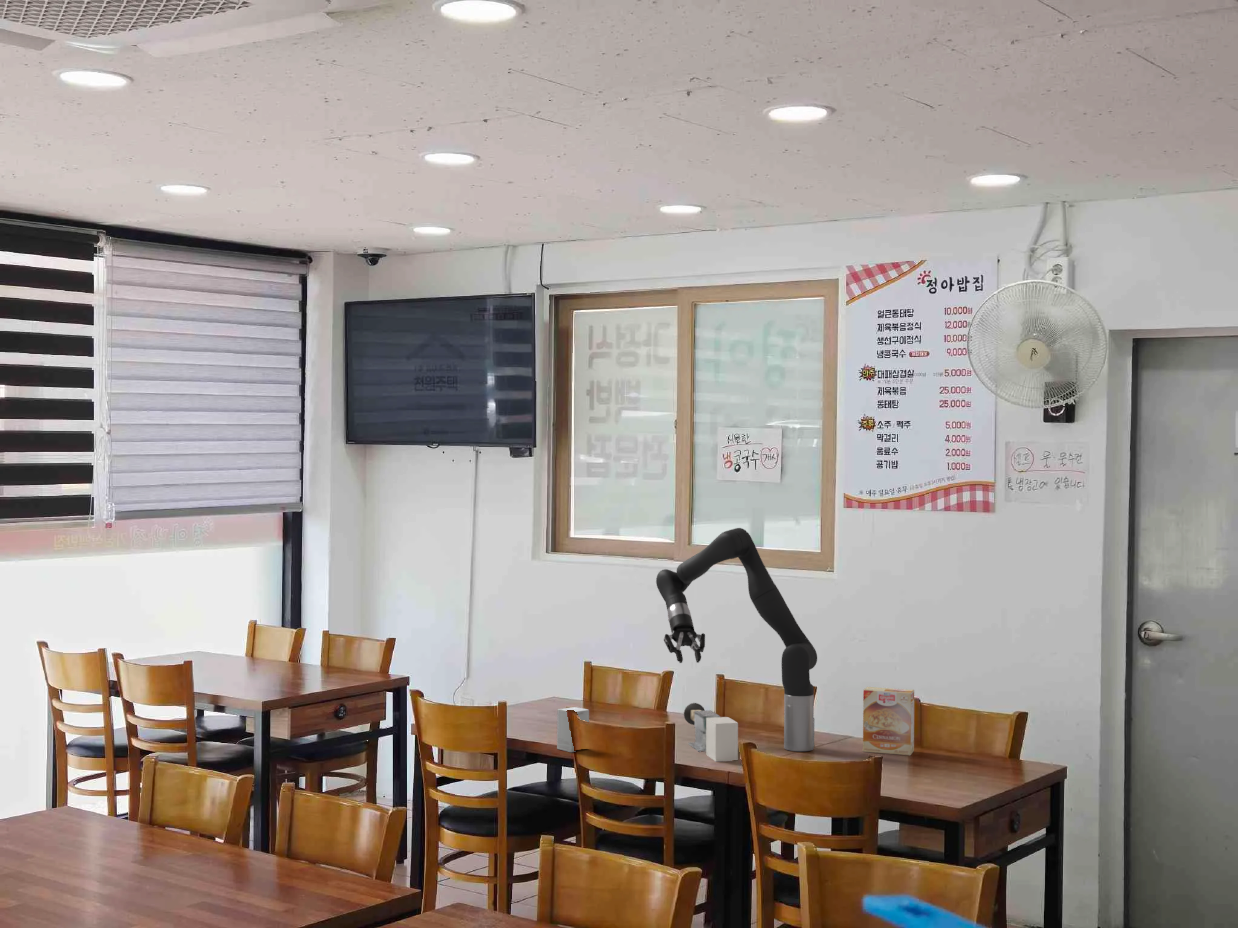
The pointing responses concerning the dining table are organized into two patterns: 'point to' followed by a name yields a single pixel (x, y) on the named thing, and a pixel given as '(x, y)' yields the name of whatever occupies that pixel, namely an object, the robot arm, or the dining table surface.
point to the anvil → (701, 729)
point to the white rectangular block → (721, 739)
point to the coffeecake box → (888, 720)
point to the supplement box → (567, 727)
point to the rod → (692, 712)
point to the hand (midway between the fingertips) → (689, 660)
